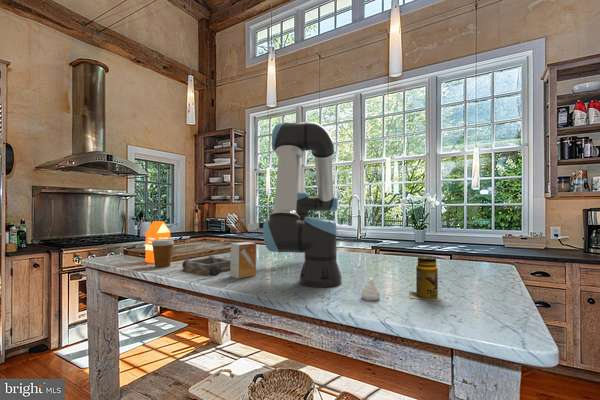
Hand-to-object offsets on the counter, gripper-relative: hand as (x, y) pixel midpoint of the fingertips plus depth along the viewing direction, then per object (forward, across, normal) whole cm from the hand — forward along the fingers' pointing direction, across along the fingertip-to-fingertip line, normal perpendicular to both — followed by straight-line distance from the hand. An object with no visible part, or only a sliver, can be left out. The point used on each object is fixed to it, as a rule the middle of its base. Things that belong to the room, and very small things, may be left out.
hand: (260, 227), depth 130 cm
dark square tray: (+8, +20, -19) cm, 28 cm away
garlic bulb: (+9, -52, -18) cm, 56 cm away
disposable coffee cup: (+17, +44, -19) cm, 51 cm away
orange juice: (+11, +58, -19) cm, 62 cm away
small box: (+10, 0, -19) cm, 21 cm away
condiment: (-2, -65, -18) cm, 68 cm away
